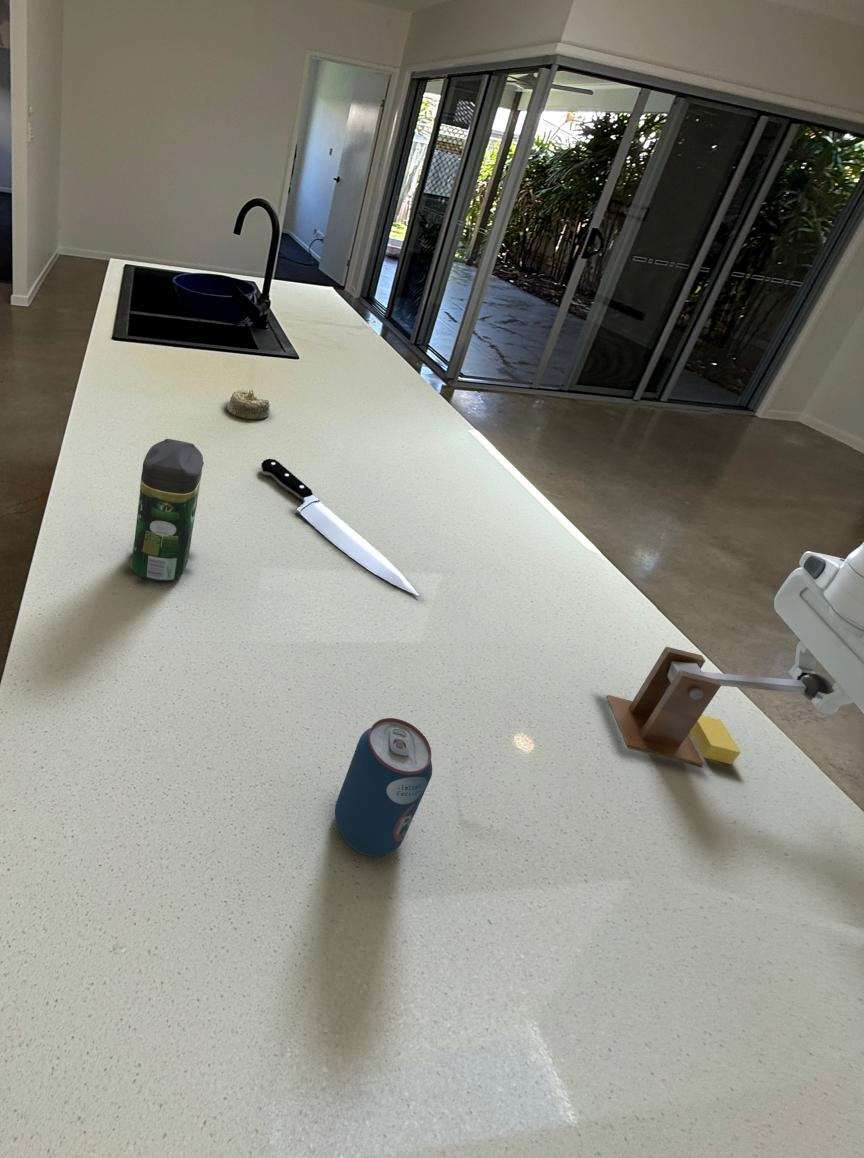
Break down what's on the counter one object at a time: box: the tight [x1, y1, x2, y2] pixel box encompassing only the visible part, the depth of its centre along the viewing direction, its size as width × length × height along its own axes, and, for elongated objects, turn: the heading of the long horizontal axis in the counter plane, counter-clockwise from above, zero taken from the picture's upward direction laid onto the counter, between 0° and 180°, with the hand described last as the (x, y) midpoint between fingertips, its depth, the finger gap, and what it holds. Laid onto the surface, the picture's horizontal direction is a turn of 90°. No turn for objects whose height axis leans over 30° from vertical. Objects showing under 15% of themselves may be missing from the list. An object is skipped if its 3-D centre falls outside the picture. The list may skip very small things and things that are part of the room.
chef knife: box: [260, 458, 420, 597], centre depth 112 cm, size 5×41×2 cm, turn 36°
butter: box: [689, 714, 741, 765], centre depth 82 cm, size 4×5×3 cm
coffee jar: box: [130, 438, 205, 583], centre depth 91 cm, size 10×8×19 cm
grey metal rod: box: [667, 661, 835, 702], centre depth 77 cm, size 17×3×3 cm, turn 81°
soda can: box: [334, 717, 433, 857], centre depth 61 cm, size 7×7×12 cm
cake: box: [226, 389, 271, 420], centre depth 149 cm, size 10×10×5 cm
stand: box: [605, 646, 722, 766], centre depth 80 cm, size 9×8×12 cm
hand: (809, 693), depth 77 cm, fingers closed on grey metal rod, 3 cm apart
